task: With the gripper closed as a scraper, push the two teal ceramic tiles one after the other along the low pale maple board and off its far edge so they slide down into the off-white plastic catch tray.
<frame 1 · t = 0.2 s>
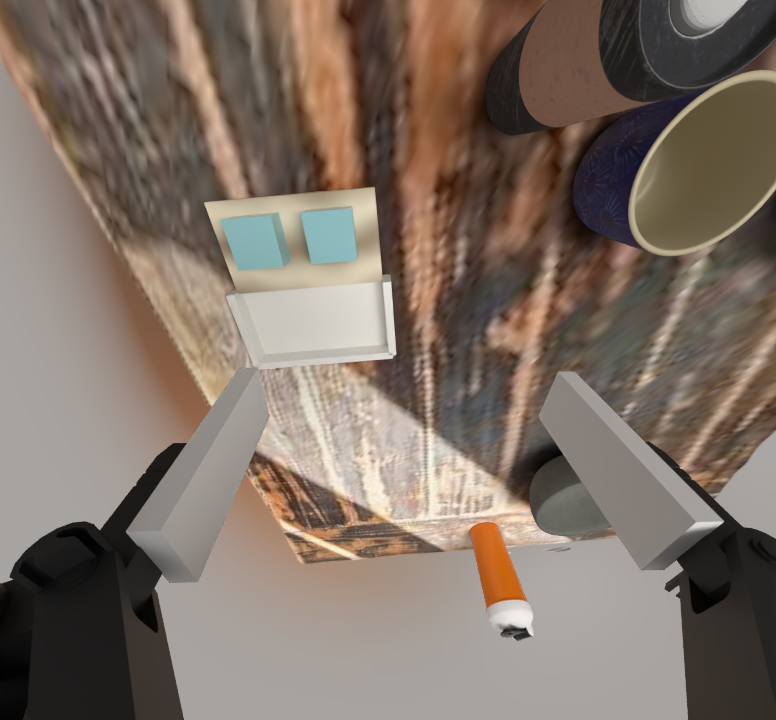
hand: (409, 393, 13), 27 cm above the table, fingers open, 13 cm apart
bowl: (563, 463, 60), on the table
travel mug: (520, 89, 28), on the table
board: (304, 241, 35), on the table
shaker bottle: (483, 529, 73), on the table
tile b: (262, 238, 33), point 2 cm above the table, touching board
tile a: (333, 232, 33), point 2 cm above the table, touching board
planter: (615, 175, 32), on the table
tray: (320, 318, 40), on the table
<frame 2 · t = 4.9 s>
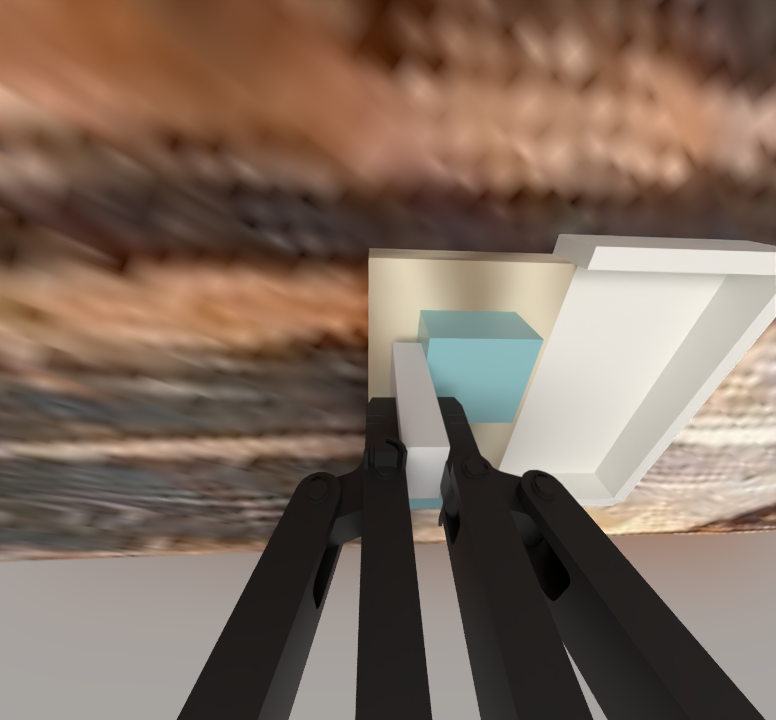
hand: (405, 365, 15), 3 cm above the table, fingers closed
board: (440, 386, 20), on the table
tile b: (424, 448, 21), point 2 cm above the table, touching board
tile a: (459, 352, 16), point 2 cm above the table, touching gripper
tray: (579, 386, 21), on the table
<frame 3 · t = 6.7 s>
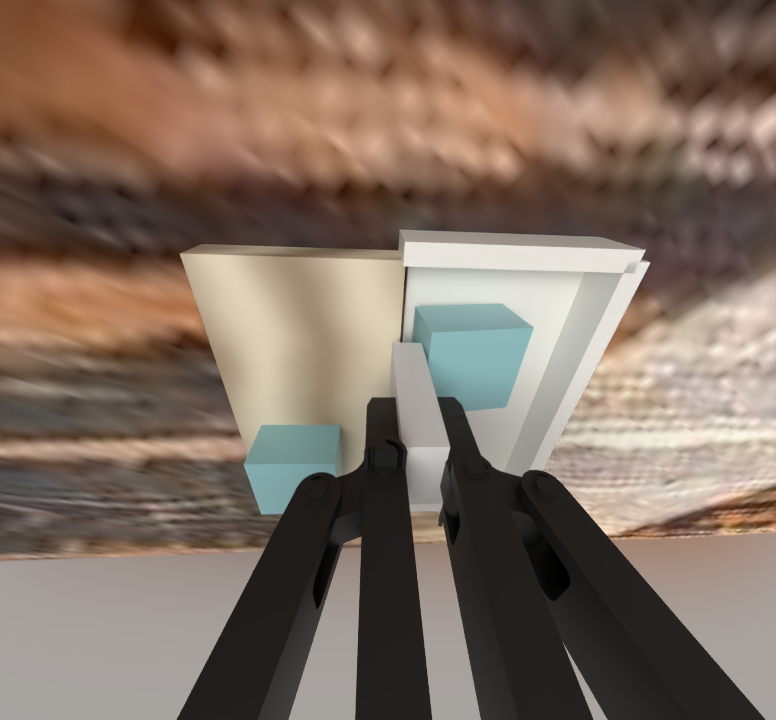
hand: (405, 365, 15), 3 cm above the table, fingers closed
board: (319, 387, 20), on the table
tile b: (305, 450, 20), point 2 cm above the table, touching board
tile a: (452, 344, 17), point 1 cm above the table, tilted 8°
tray: (465, 388, 20), on the table
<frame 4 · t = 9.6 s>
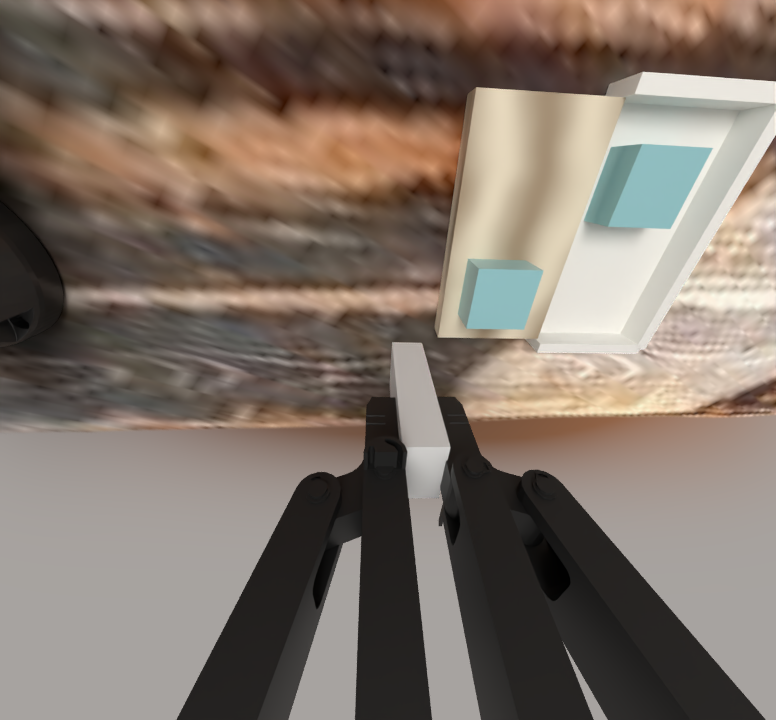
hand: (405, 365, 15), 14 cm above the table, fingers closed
board: (504, 236, 25), on the table
tile b: (490, 288, 26), point 2 cm above the table, touching board
tile a: (626, 187, 23), point 1 cm above the table, touching tray
tray: (613, 240, 26), on the table
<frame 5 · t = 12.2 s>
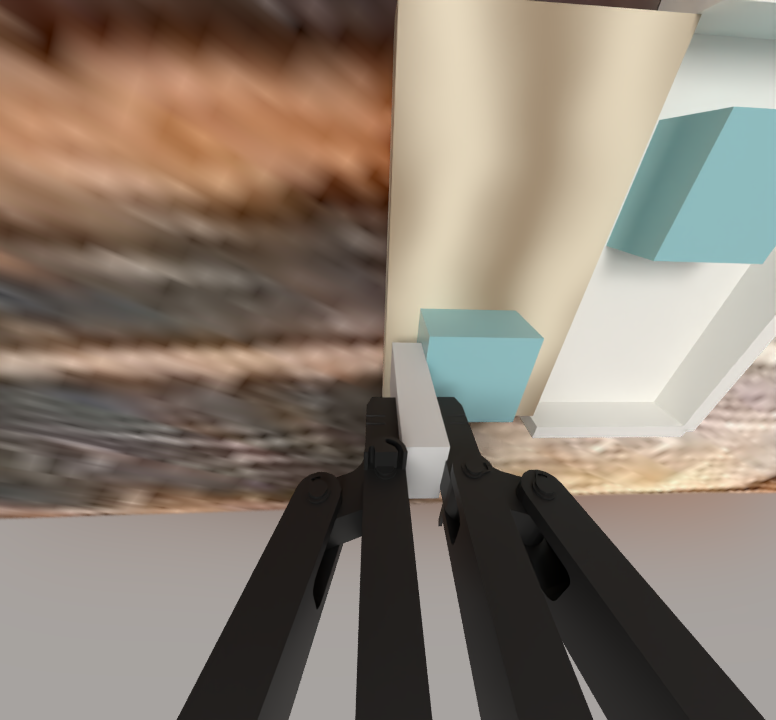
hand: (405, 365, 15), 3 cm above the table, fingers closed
board: (477, 269, 16), on the table
tile b: (460, 351, 16), point 2 cm above the table, touching gripper
tile a: (680, 191, 14), point 1 cm above the table, touching tray
tray: (651, 273, 16), on the table
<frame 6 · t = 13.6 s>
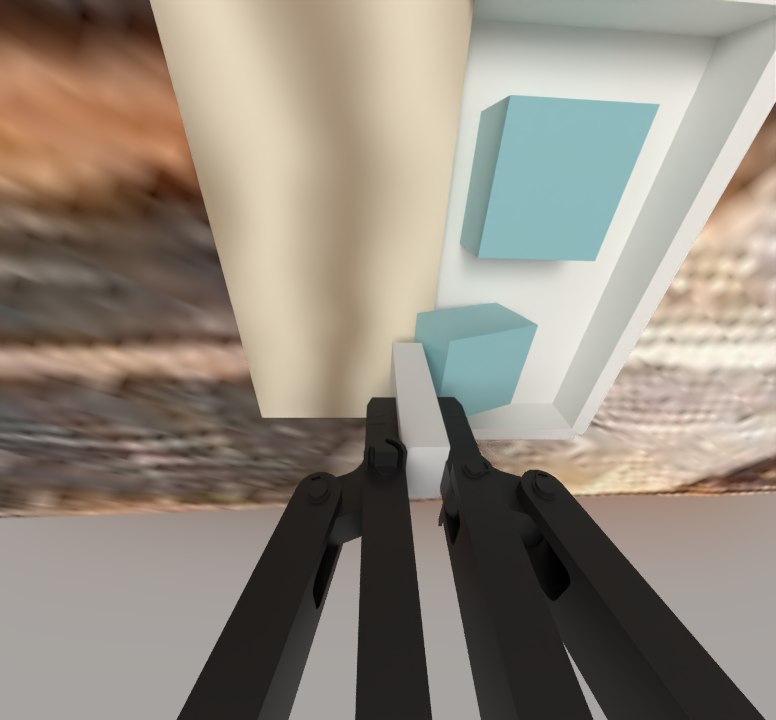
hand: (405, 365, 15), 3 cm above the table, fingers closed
board: (337, 266, 15), on the table
tile b: (451, 348, 17), point 1 cm above the table, tilted 20°, touching board, tray
tile a: (523, 186, 13), point 1 cm above the table, touching tray
tray: (520, 271, 16), on the table
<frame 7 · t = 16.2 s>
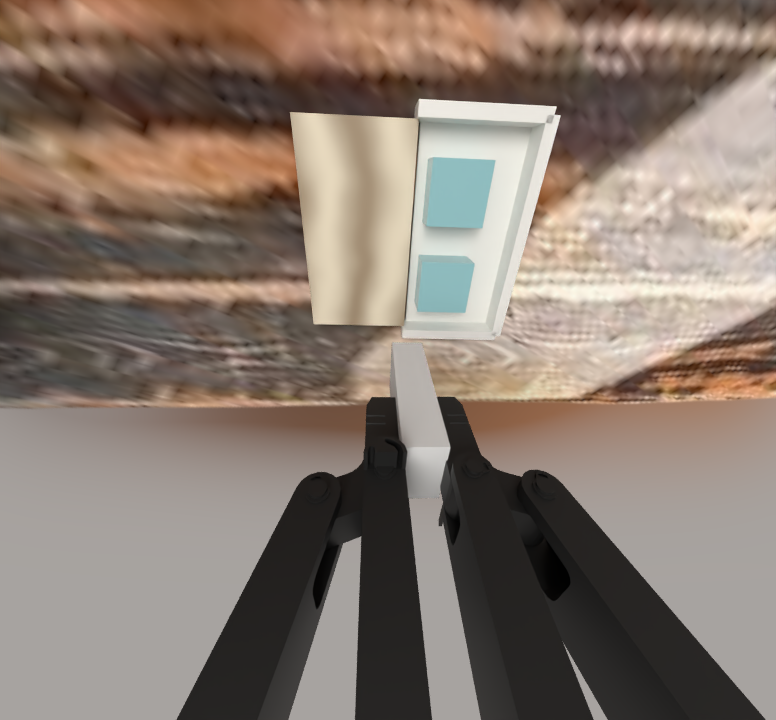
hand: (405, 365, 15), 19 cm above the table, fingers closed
board: (358, 235, 29), on the table
tile b: (439, 279, 31), point 1 cm above the table, touching tray
tile a: (451, 192, 27), point 1 cm above the table, touching tray
tray: (457, 238, 30), on the table
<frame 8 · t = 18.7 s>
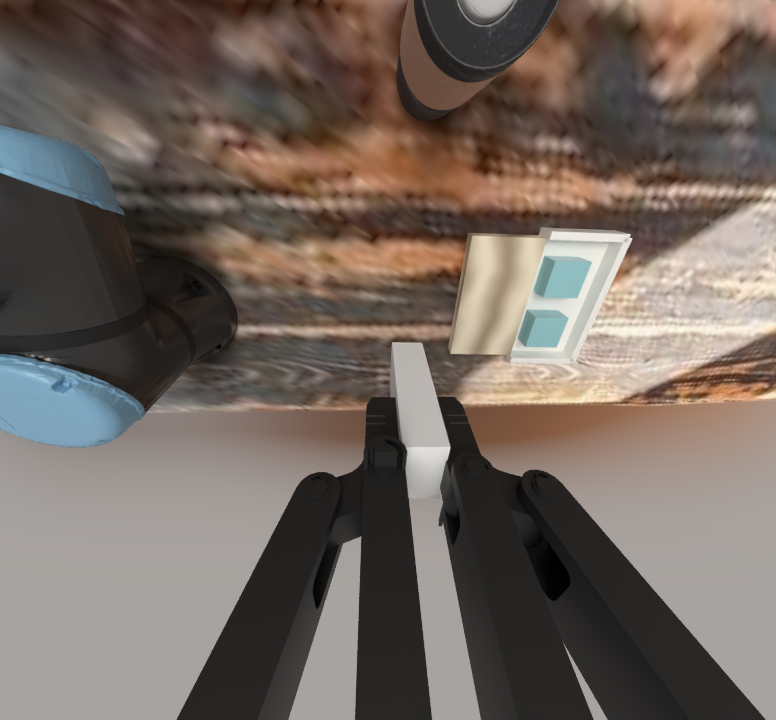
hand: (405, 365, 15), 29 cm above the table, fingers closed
travel mug: (429, 78, 31), on the table
board: (489, 297, 44), on the table
tile b: (537, 324, 47), point 1 cm above the table, touching tray
tile a: (555, 273, 42), point 1 cm above the table, touching tray
tray: (552, 299, 45), on the table
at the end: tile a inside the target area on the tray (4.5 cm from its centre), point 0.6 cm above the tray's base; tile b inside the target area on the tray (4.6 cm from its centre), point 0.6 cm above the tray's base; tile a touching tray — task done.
